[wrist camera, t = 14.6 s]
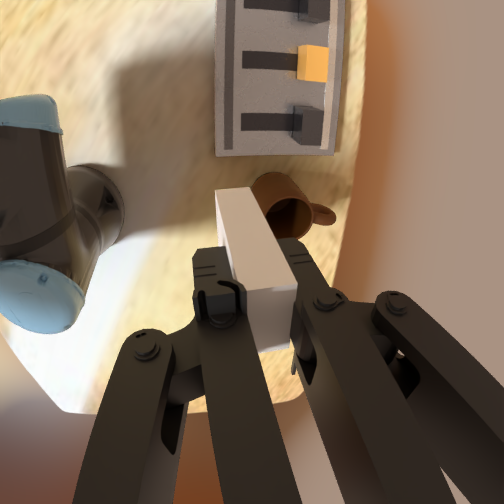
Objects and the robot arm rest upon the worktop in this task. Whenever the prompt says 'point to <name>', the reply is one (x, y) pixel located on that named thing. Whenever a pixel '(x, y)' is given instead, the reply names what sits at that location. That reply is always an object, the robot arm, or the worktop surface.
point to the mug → (288, 207)
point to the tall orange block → (312, 63)
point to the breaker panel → (275, 77)
